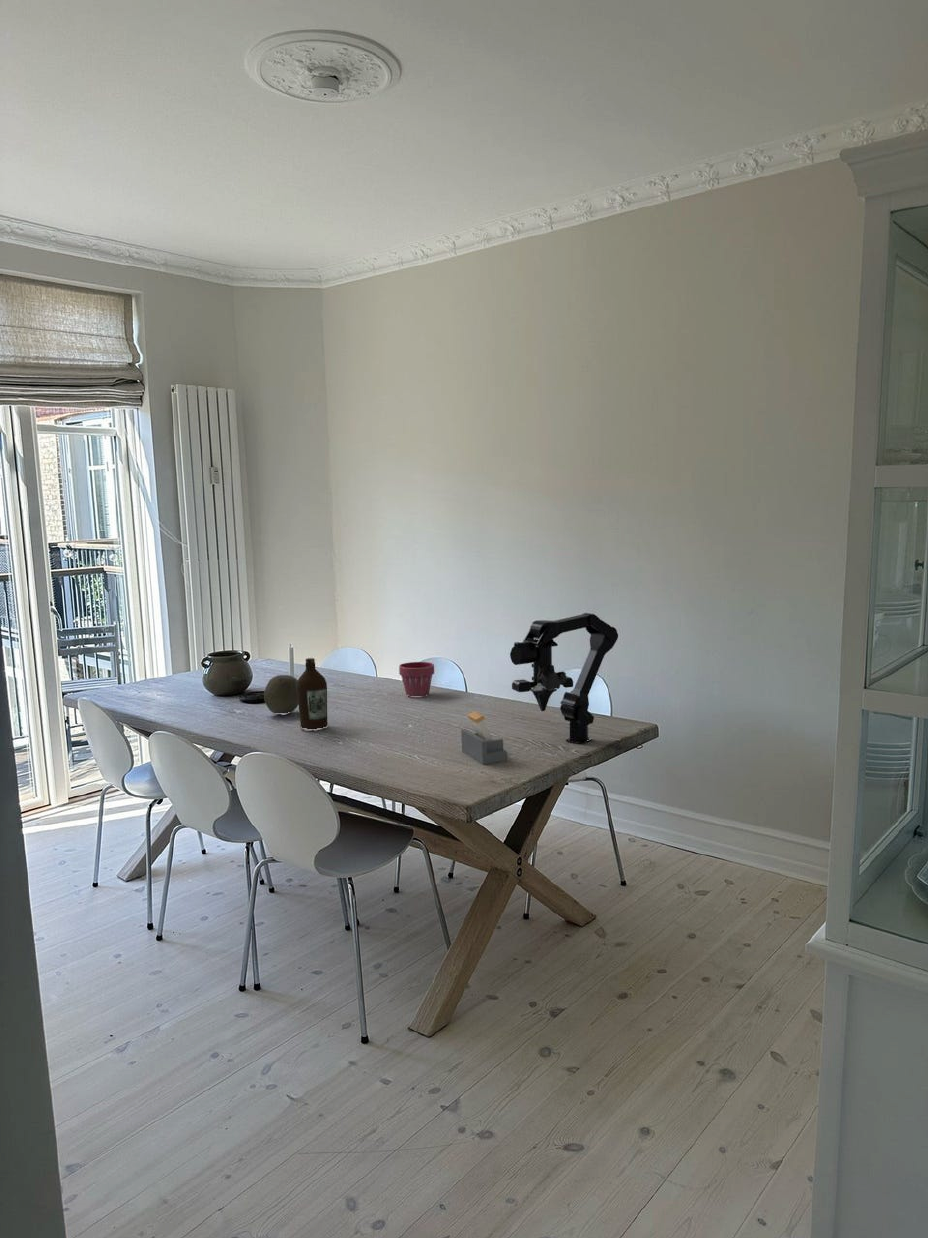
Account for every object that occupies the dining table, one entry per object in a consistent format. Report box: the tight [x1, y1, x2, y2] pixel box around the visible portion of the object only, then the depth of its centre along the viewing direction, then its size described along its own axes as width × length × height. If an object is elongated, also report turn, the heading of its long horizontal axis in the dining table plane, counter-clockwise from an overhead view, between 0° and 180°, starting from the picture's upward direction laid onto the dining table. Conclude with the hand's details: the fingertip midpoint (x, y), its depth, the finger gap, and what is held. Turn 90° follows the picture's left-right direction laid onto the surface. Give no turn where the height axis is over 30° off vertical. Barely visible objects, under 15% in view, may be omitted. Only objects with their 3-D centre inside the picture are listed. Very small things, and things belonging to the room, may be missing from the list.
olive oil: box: [296, 657, 329, 729], centre depth 306 cm, size 11×11×25 cm
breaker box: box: [460, 728, 508, 765], centre depth 266 cm, size 8×16×7 cm, turn 23°
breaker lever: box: [467, 710, 493, 741], centre depth 265 cm, size 3×7×10 cm, turn 23°
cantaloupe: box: [263, 674, 299, 714], centre depth 330 cm, size 14×14×15 cm
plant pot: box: [398, 661, 435, 697], centre depth 353 cm, size 14×14×13 cm
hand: (542, 710), depth 270 cm, fingers closed
